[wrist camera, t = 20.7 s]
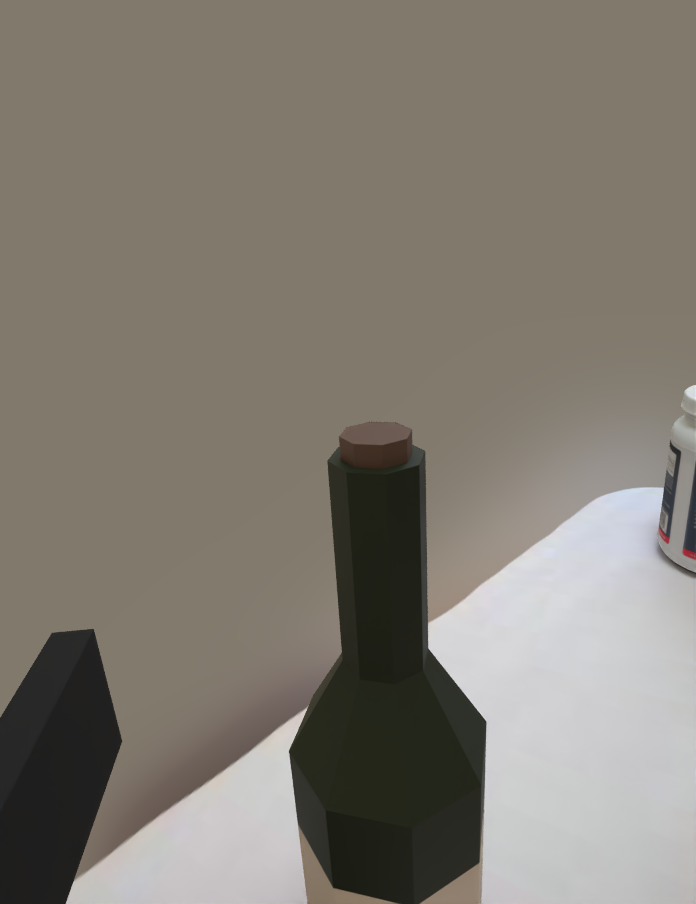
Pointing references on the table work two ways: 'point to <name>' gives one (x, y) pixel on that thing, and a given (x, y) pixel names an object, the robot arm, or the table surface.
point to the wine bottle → (387, 705)
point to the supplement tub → (681, 489)
